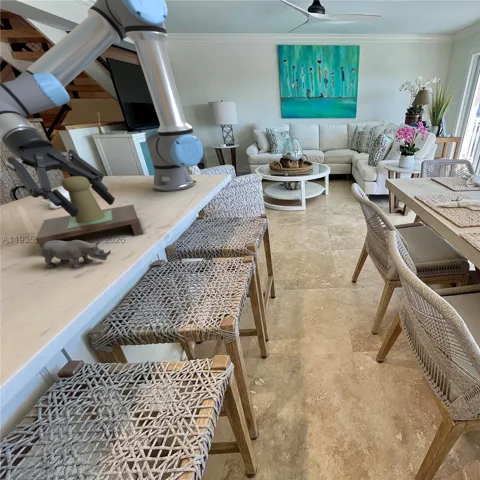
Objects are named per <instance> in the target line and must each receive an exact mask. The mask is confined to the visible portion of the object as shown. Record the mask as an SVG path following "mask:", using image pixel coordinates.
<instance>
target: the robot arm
mask: <svg viewBox="0 0 480 480" xmlns="http://www.w3.org/2000/svg"><path fill="white" fill-rule="evenodd" d="M167 17H168V7H167V3H166V0H96V1H95V3H94V4H93V5H92V6H91V7H90V8H88V9H87V17H86V18H84V19H83V20H82V21H81V22H80V23H78V25H76V26H75V27H74V28H73V29H71V30H70V31H69V32H68V33H67V34H66V35H64V37H63V38H61V39H60V40H59V41H57V43H55V44H54V45H53V46H52V47H51V48H49V49H48V50H47V51H46V52H45V53H44V54H42V55H41V56H40V57H39V58H38V59H36V60H35V62H33V63H32V64H31V65H30V66H28V68H26V69H25V70H24V71H23V72H22V73H20V74H19V75H18V76H17V77H16V78H14V79H12V80H10V81H5V82H3V83H0V143H1V144H3V145H4V146H5V147H6V149H8V150H9V151H10V152H11V153H12V154H13V155H14V156H15V157H16V158H15V157H12V156H8V157H7V158H6V167H7V168H8V169H9V170H11V171H12V172H13V173H15V175H16V176H17V177H18V179H19V180H20V182H21V183H22V185H23V186H24V187H25V189H26V190H27V192H28V193H29V195H30V196H31V197H32V198H39V197H42V199H43V200H49V202H52V203H53V204H54V205H55V206H57V207H58V206H61V207H60V208H62V209H63V210H64V211H65V212H66V213H68V214H69V215H71V216H72V217H75V216H76V215H77V212H78V209H77V208H76V207H75V206H74V205H73V204H72V203H71V201H69V200H67V199H66V198H65V197H64V196H63V195H62V194H61V193H60V192H59V191H58V190H57V188H55V189H53V190H52V186H51V183H50V180H49V176H48V173H47V172H50V171H53V170H55V171H56V170H57V171H61V172H63V173H68V174H69V175H71V176H83V177H85V178H87V179H88V181H89V183H90V188H91V189H92V190H93V191H94V192H95V194H97V195H98V196H99V197H100V198H101V199H102V200H103V201H105V202H106V204H108V205H109V206H112V205H113V204H114V201H115V200H116V198H115V197H114V196H113V195H112V194H111V193H110V192H109V188H108V187H107V186H106V185H105V184H104V183H103V180H104V176H105V175H104V173H102V172H101V171H99V170H98V169H97V168H95V167H94V166H92V164H90V163H89V162H87V161H86V160H84V159H83V158H82V157H80V156H79V154H77V153H76V151H75V150H73V149H69V150H68V151H61V150H60V149H56V148H55V147H54V145H53V144H52V142H51V141H50V140H49V139H48V138H47V137H46V136H45V135H44V134H43V133H42V132H40V131H39V129H38V128H37V127H36V126H34V124H32V123H31V122H30V121H29V120H28V119H27V118H26V117H29V116H32V115H34V114H38V113H41V112H44V111H47V110H50V109H53V108H56V107H61V106H62V105H65V104H67V103H69V102H70V101H71V98H70V95H69V93H68V92H67V90H66V86H68V85H69V84H70V83H71V82H72V81H73V80H74V79H75V78H76V77H77V76H79V75H80V74H81V73H82V72H83V71H84V70H86V69H87V67H88V66H90V65H91V64H92V63H93V62H94V61H95V60H96V59H98V57H100V56H101V55H102V54H103V53H104V52H105V51H106V50H107V49H108V48H109V47H110V46H112V44H114V43H116V44H120V43H122V41H123V40H125V39H126V38H128V39H130V40H131V41H132V43H133V44H134V48H135V50H136V53H137V57H138V60H139V63H140V66H141V69H142V72H143V74H144V78H145V81H146V84H147V88H148V91H149V94H150V97H151V100H152V104H153V106H154V110H155V112H156V116H157V118H158V121H159V127H158V129H150V130H147V131H145V132H144V138H145V143H146V145H147V149H148V152H149V156H150V160H151V163H152V166H153V170H154V173H153V188H154V190H155V191H158V192H174V191H182V190H187V189H189V188H191V187H193V186H194V183H197V181H196V180H194V179H193V178H192V176H191V175H190V173H189V171H188V170H187V168H192V167H195V166H196V165H197V166H198V164H199V163H200V162H201V161H202V159H203V157H204V147H203V143H202V142H201V140H200V139H199V138H197V137H196V136H195V132H194V130H193V127H192V126H191V125H190V124H189V123H187V121H186V117H185V113H184V110H183V105H182V102H181V98H180V95H179V91H178V88H177V84H176V81H175V80H176V79H175V77H174V73H173V69H172V66H171V62H170V58H169V55H168V52H167V48H166V44H165V41H166V39H167V38H168V36H169V35H168V31H167V28H166V23H165V22H166V21H167ZM24 165H26V166H28V167H31V168H34V171H35V175H36V176H37V179H38V183H39V185H40V186H39V185H38V184H37V182H36V181H35V180H34V178H33V177H32V175H31V173H29V170H27V168H26V167H25V166H24Z"/></svg>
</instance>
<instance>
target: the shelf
mask: <svg viewBox="0 0 480 480" xmlns="http://www.w3.org/2000/svg"><path fill="white" fill-rule="evenodd" d="M101 210H102V212H103V213H104V215H105V217H103V218H102V219H99V220H96V221H92V222H86V223H79V222H76V219H75V217H72V216H71V215H70V214H69V215H65V216H59V217H53V218H46V219H44V220H43V222H42V224H41V226H40V228H39V230H38V233H37V234H36V236H35V240H36V242H37V244H38V246H39V248H40V249H41V250H42V247H43V245H44V243H45V242H46V241H54V240H60V241H61V239H66V238H71V237H75V236H80V235H85V234H90V233H95V232H100V231H105V230H110V229H114V228H119V227H124V226H128V225H131V229H132V232H133V235H134V236H140V235H144V231H143V228H142V225H141V223H140V219H139V217H138V214H137V211H136V208H135V207H134V204H128V205H122V206H115V207H111V208H104V209H101Z"/></svg>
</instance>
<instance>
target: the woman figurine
mask: <svg viewBox="0 0 480 480" xmlns="http://www.w3.org/2000/svg"><path fill="white" fill-rule="evenodd" d="M56 189H57V190H58V191H59V192H60V193H61V194H62V195H63V196H64V197H65V198H66V199H67V200H69V201H70V202H71V200H70V196H69V193H68V191H66V190H65V189H64V188H63V186H62V185H61V186H59V187H57V188H56ZM40 202H41V203H46V204H48V205H49V208H51V209H53V210H56V209H59V208H62V207H61V206H58V207H57V206H55V205H54V204H53V203H52V202H51V201H47V200H45V199H44V198H42V199H40Z"/></svg>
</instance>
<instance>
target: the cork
mask: <svg viewBox="0 0 480 480" xmlns="http://www.w3.org/2000/svg"><path fill="white" fill-rule="evenodd" d="M61 186H63V188H64V189H65V190H66V191H68V193H69V196H70V200H71V201H70V202H71V203H72V204H73V205H74V206H75V207H76V208H77V209H78V212H77V215H76V216H75V219H76V222H79V223H86V222H92V221H96V220H99V219H102V218H103V217H105V215H104V213H103V212H102V210H103V209H102V208H101V207H100V205H99V203H98V201H97V200H96V198H95V197H94V195H93V193H92V191H91V190H90V188H91V184H90V183H89V181H88V179H87V178H85V177H83V176H74V175H72V176H68V177H65V178H63V179H62V180H61Z"/></svg>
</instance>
